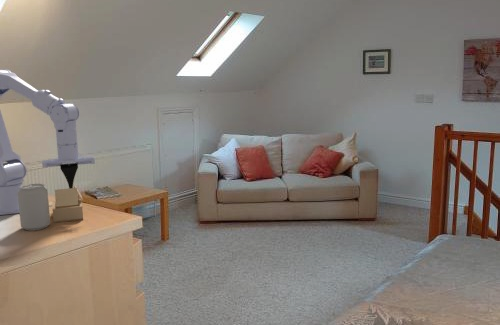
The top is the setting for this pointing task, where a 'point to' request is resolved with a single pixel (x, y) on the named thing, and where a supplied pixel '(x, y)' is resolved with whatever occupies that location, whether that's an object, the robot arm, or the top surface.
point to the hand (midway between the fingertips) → (71, 188)
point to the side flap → (77, 191)
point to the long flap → (66, 197)
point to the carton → (67, 212)
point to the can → (33, 207)
